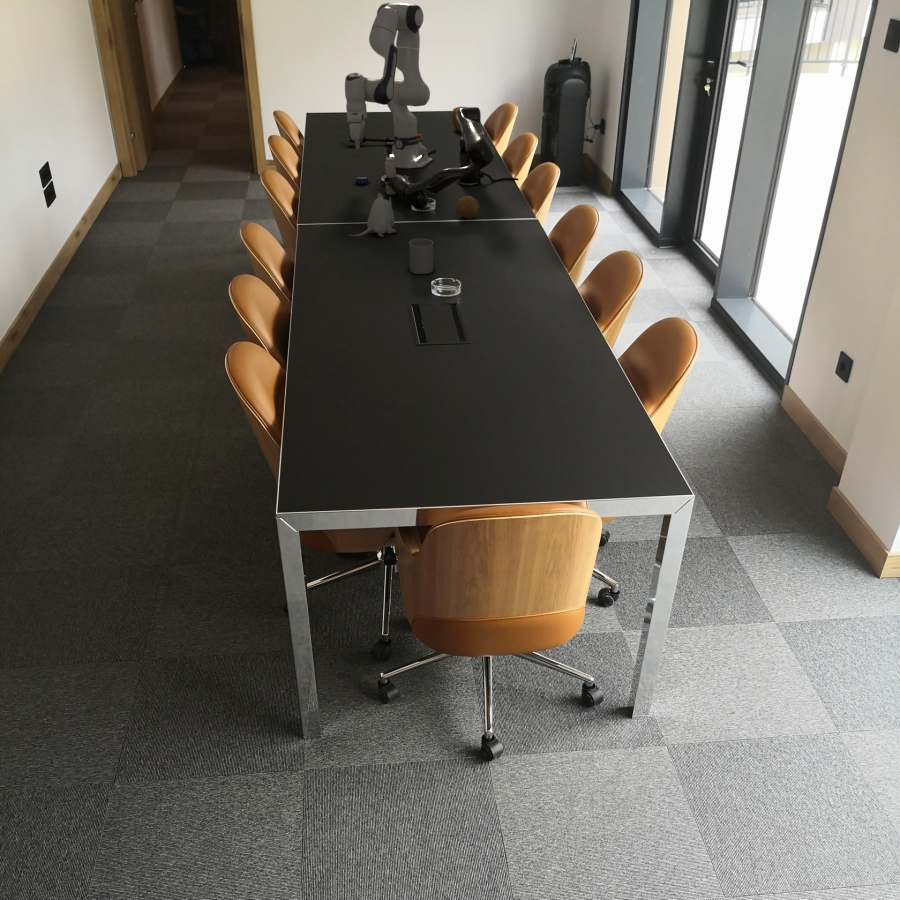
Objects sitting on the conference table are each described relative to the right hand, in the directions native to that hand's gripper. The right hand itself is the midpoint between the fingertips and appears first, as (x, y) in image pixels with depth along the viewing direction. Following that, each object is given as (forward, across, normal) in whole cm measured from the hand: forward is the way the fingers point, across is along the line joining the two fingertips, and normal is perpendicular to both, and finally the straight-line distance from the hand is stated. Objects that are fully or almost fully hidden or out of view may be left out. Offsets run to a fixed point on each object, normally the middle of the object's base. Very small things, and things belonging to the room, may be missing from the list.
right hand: (388, 176), depth 387 cm
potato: (-48, +17, -7) cm, 51 cm away
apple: (+96, +79, -7) cm, 124 cm away
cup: (-96, -24, -6) cm, 99 cm away
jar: (-3, 0, -7) cm, 7 cm away
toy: (-56, -28, -7) cm, 63 cm away
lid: (+18, -7, -5) cm, 19 cm away
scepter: (+85, +20, -7) cm, 87 cm away
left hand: (+16, -8, +11) cm, 21 cm away
